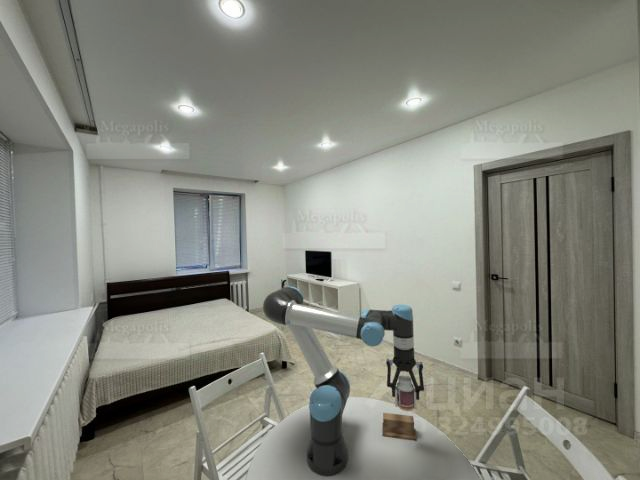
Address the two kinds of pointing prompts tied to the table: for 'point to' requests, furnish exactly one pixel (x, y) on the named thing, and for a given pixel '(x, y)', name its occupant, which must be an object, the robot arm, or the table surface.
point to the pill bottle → (405, 393)
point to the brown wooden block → (398, 426)
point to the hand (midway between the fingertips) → (405, 406)
